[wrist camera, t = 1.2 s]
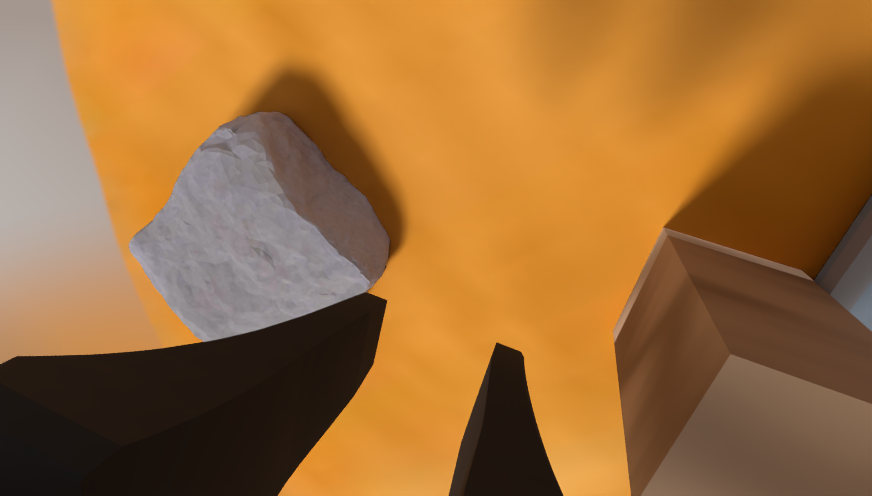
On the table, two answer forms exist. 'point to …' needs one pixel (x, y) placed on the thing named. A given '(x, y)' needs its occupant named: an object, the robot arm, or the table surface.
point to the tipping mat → (852, 268)
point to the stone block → (260, 232)
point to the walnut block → (741, 378)
